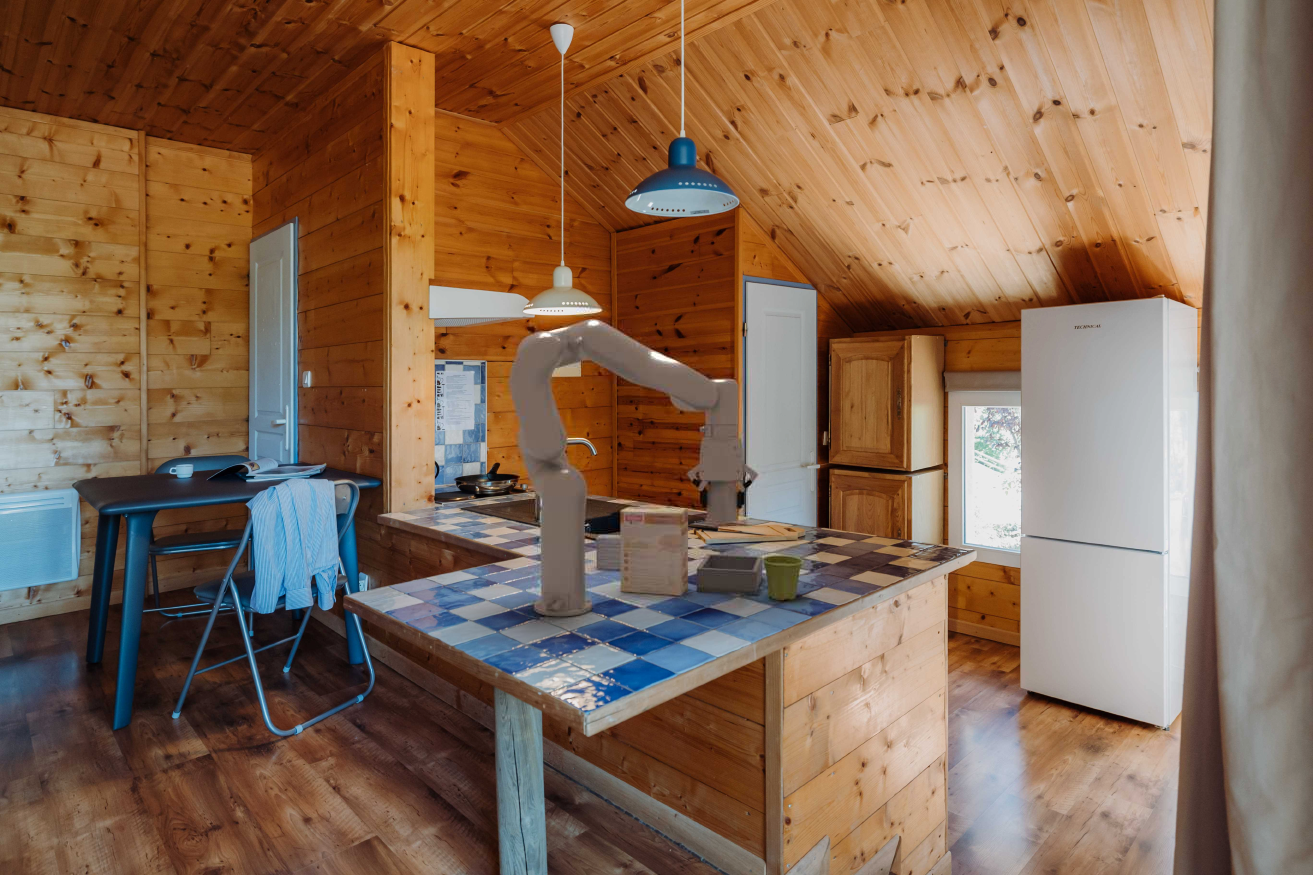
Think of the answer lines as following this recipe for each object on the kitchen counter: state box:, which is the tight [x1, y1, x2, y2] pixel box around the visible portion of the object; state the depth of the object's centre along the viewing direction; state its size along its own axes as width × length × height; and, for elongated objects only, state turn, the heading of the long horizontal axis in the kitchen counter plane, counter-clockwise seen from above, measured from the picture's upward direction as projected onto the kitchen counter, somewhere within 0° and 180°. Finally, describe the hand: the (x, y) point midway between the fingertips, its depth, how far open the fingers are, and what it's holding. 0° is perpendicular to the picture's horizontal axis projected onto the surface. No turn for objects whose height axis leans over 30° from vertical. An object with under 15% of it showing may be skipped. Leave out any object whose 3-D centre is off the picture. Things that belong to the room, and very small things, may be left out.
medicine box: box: [595, 534, 621, 571], centre depth 199 cm, size 8×4×9 cm, turn 84°
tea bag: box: [706, 481, 739, 524], centre depth 174 cm, size 4×7×10 cm, turn 39°
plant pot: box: [762, 555, 805, 601], centre depth 171 cm, size 9×9×9 cm
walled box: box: [696, 553, 763, 596], centre depth 182 cm, size 16×14×6 cm
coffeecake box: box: [619, 506, 689, 597], centre depth 177 cm, size 15×7×20 cm, turn 74°
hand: (722, 507), depth 174 cm, fingers closed on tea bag, 7 cm apart
